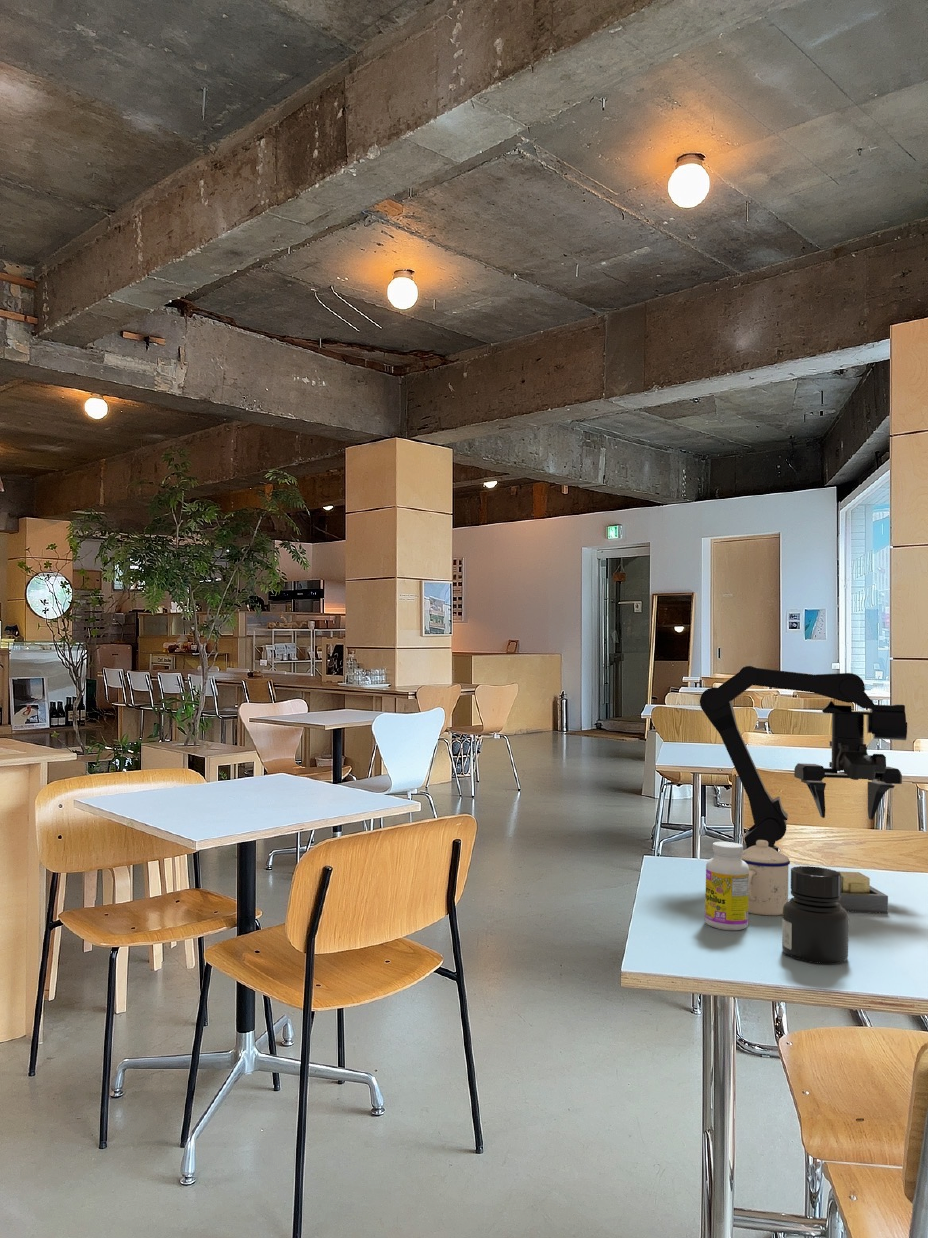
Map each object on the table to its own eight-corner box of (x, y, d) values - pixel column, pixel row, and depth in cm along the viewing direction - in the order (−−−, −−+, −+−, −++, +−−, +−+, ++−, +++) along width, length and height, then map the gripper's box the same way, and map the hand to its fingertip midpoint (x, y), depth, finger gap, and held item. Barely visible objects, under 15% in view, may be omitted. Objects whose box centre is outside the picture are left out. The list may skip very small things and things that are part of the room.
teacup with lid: (745, 899, 162) (746, 833, 163) (796, 909, 157) (797, 841, 157) (718, 912, 153) (719, 842, 154) (772, 923, 147) (773, 850, 148)
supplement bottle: (696, 921, 147) (697, 841, 148) (730, 918, 149) (731, 839, 150) (722, 933, 141) (723, 849, 141) (757, 930, 143) (758, 847, 144)
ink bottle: (799, 942, 137) (800, 861, 138) (858, 956, 131) (859, 872, 132) (770, 955, 130) (771, 870, 131) (831, 971, 124) (832, 882, 125)
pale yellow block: (844, 907, 157) (844, 877, 158) (832, 898, 163) (832, 870, 163) (870, 908, 157) (870, 878, 158) (857, 900, 163) (857, 871, 163)
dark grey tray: (834, 911, 156) (835, 894, 156) (804, 890, 171) (804, 874, 171) (887, 913, 156) (888, 896, 156) (852, 892, 171) (852, 876, 171)
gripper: (814, 739, 169) (813, 824, 168) (915, 742, 168) (915, 827, 167) (793, 734, 180) (792, 814, 179) (889, 738, 179) (888, 817, 179)
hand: (846, 818), depth 176 cm, fingers open, 9 cm apart
